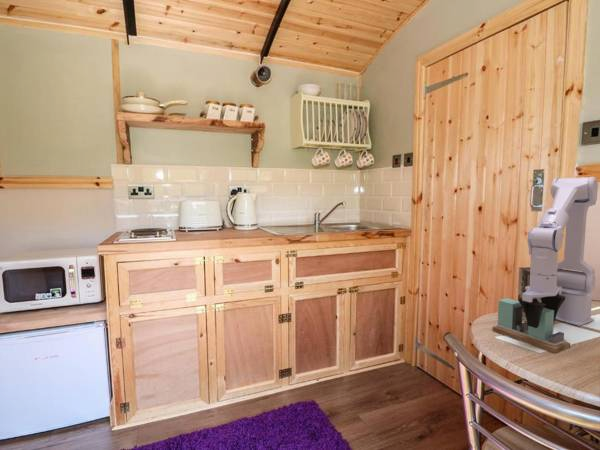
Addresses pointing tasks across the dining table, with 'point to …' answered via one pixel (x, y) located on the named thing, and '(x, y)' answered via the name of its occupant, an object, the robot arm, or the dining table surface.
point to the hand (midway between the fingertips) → (541, 323)
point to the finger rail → (524, 328)
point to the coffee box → (524, 285)
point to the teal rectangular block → (543, 325)
